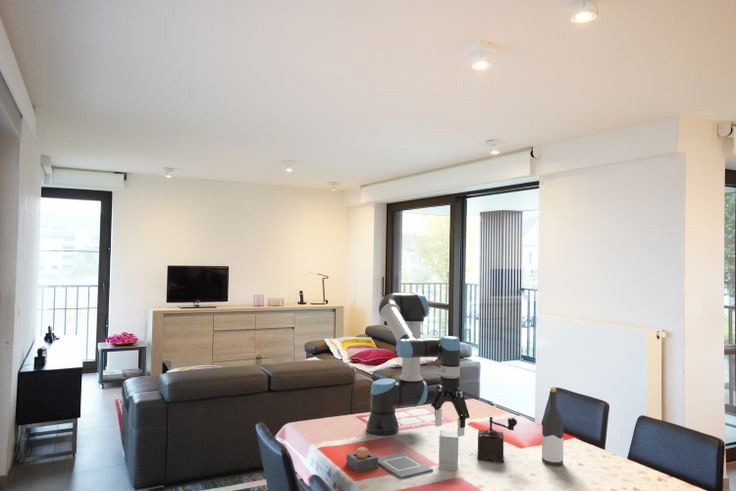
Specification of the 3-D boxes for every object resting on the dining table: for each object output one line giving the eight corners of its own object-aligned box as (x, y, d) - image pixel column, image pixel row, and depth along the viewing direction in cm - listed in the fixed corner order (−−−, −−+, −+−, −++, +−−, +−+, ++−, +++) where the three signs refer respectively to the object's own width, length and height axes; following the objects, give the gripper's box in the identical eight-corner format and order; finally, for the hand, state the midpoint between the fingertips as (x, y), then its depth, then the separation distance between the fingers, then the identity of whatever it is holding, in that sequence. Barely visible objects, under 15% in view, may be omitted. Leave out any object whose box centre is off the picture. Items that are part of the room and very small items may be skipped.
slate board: (372, 460, 207) (372, 458, 207) (402, 453, 215) (402, 451, 215) (400, 479, 190) (400, 476, 190) (432, 471, 198) (432, 468, 198)
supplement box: (457, 470, 199) (458, 437, 199) (438, 468, 200) (438, 436, 201) (458, 463, 206) (458, 431, 206) (439, 461, 207) (440, 429, 208)
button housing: (346, 464, 203) (346, 453, 203) (366, 460, 208) (366, 449, 208) (357, 472, 195) (357, 461, 195) (377, 468, 200) (378, 457, 200)
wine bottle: (562, 460, 212) (563, 386, 212) (563, 467, 204) (564, 391, 205) (542, 457, 214) (542, 384, 215) (541, 464, 207) (542, 389, 207)
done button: (354, 458, 202) (354, 448, 202) (364, 456, 204) (364, 446, 205) (360, 462, 198) (360, 452, 198) (369, 460, 201) (370, 450, 201)
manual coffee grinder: (477, 461, 209) (477, 416, 209) (477, 451, 220) (478, 408, 220) (516, 465, 205) (517, 419, 206) (515, 455, 216) (516, 412, 216)
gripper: (423, 371, 213) (422, 423, 212) (464, 383, 191) (463, 441, 191) (437, 369, 217) (436, 420, 216) (479, 381, 195) (478, 438, 194)
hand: (449, 430), depth 203 cm, fingers open, 13 cm apart
